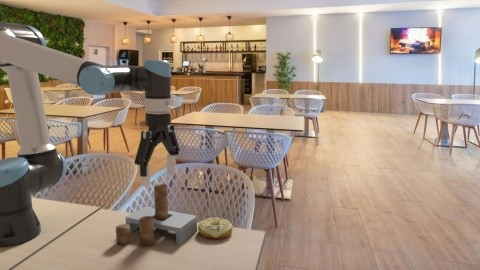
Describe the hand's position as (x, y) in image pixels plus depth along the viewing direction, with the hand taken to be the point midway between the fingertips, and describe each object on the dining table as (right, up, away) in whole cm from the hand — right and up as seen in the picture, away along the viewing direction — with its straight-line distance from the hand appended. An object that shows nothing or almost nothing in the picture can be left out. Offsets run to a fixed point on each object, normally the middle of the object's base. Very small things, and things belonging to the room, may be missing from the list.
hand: (159, 180), depth 116 cm
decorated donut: (+17, -17, +3) cm, 25 cm away
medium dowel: (-2, -18, -5) cm, 19 cm away
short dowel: (-10, -18, -5) cm, 21 cm away
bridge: (0, -17, +3) cm, 17 cm away
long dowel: (0, -17, +3) cm, 17 cm away
